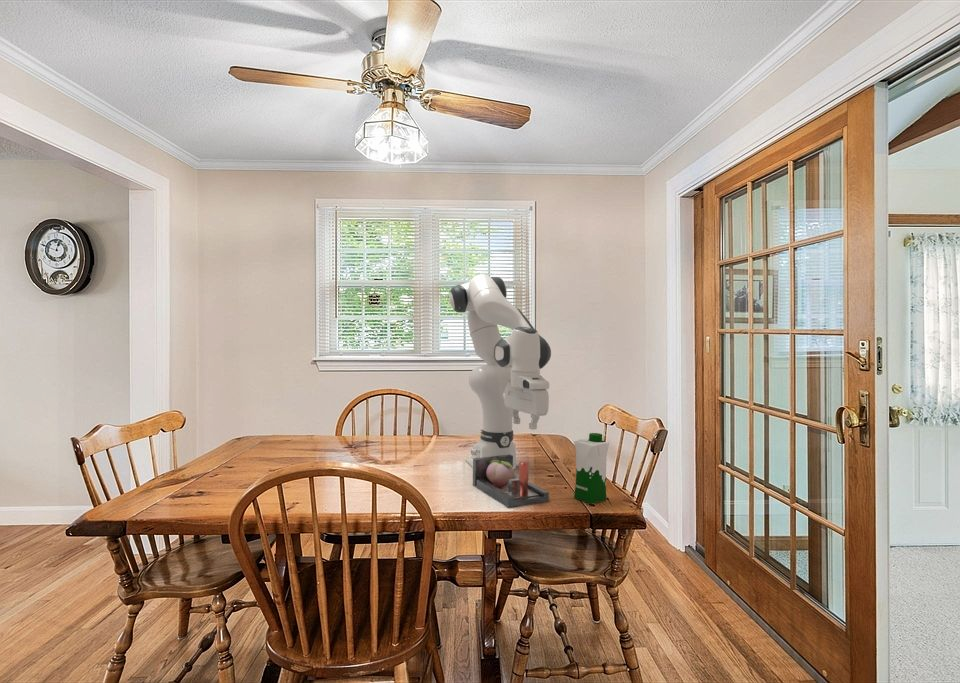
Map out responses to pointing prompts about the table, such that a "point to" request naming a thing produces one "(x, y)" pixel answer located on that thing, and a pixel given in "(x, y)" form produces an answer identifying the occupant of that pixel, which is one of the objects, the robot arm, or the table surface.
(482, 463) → the press base
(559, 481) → the table surface
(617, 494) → the table surface
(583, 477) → the milk carton
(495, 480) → the decorative fruit
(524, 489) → the handle
